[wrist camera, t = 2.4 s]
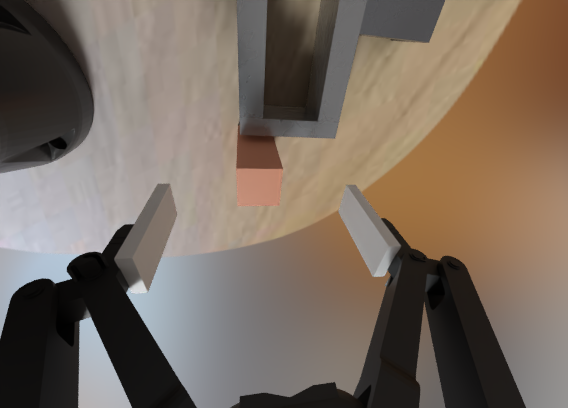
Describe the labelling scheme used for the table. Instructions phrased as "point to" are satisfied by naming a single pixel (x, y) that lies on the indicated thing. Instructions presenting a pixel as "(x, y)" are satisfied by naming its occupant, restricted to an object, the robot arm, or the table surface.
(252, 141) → the terracotta clay brick
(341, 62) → the hollow metal rectangle ring
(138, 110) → the table surface
